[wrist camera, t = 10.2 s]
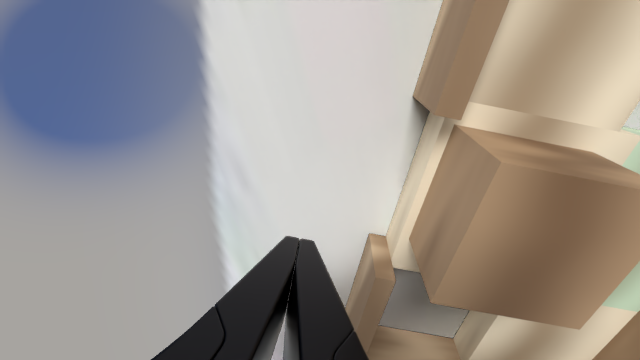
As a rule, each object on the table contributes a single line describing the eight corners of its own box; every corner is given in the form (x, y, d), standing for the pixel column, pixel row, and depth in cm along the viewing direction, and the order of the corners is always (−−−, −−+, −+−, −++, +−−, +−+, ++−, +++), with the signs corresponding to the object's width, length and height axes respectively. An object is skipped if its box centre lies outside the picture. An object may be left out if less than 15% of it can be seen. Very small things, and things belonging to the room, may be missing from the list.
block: (592, 151, 13) (693, 199, 9) (523, 259, 15) (579, 329, 12) (454, 124, 12) (501, 162, 9) (408, 238, 15) (430, 303, 12)
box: (1075, -223, 9) (1575, -396, 5) (554, 366, 22) (596, 431, 18) (555, -354, 8) (717, -642, 5) (338, 328, 21) (338, 388, 18)
